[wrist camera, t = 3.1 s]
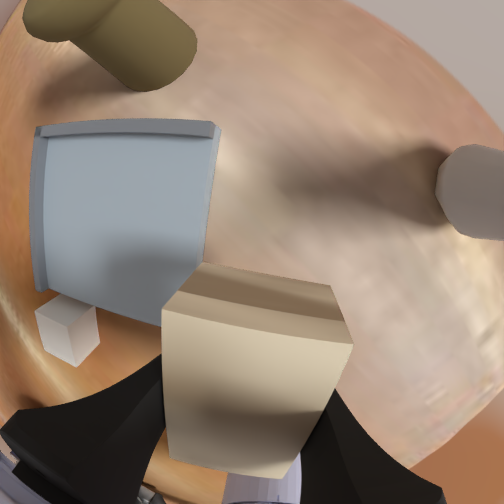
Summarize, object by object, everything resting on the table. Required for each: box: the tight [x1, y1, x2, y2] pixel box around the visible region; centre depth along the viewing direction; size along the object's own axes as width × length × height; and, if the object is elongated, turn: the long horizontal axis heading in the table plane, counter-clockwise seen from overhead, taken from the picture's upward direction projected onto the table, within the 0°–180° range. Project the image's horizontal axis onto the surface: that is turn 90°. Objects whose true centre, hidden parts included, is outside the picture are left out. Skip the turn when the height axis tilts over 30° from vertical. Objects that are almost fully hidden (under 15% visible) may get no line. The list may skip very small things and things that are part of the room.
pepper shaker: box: [22, 0, 197, 92], centre depth 8 cm, size 6×6×11 cm
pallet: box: [161, 262, 354, 479], centre depth 9 cm, size 8×5×4 cm, turn 171°
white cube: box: [35, 294, 100, 367], centre depth 18 cm, size 4×4×4 cm
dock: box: [29, 118, 221, 327], centre depth 16 cm, size 13×14×2 cm
